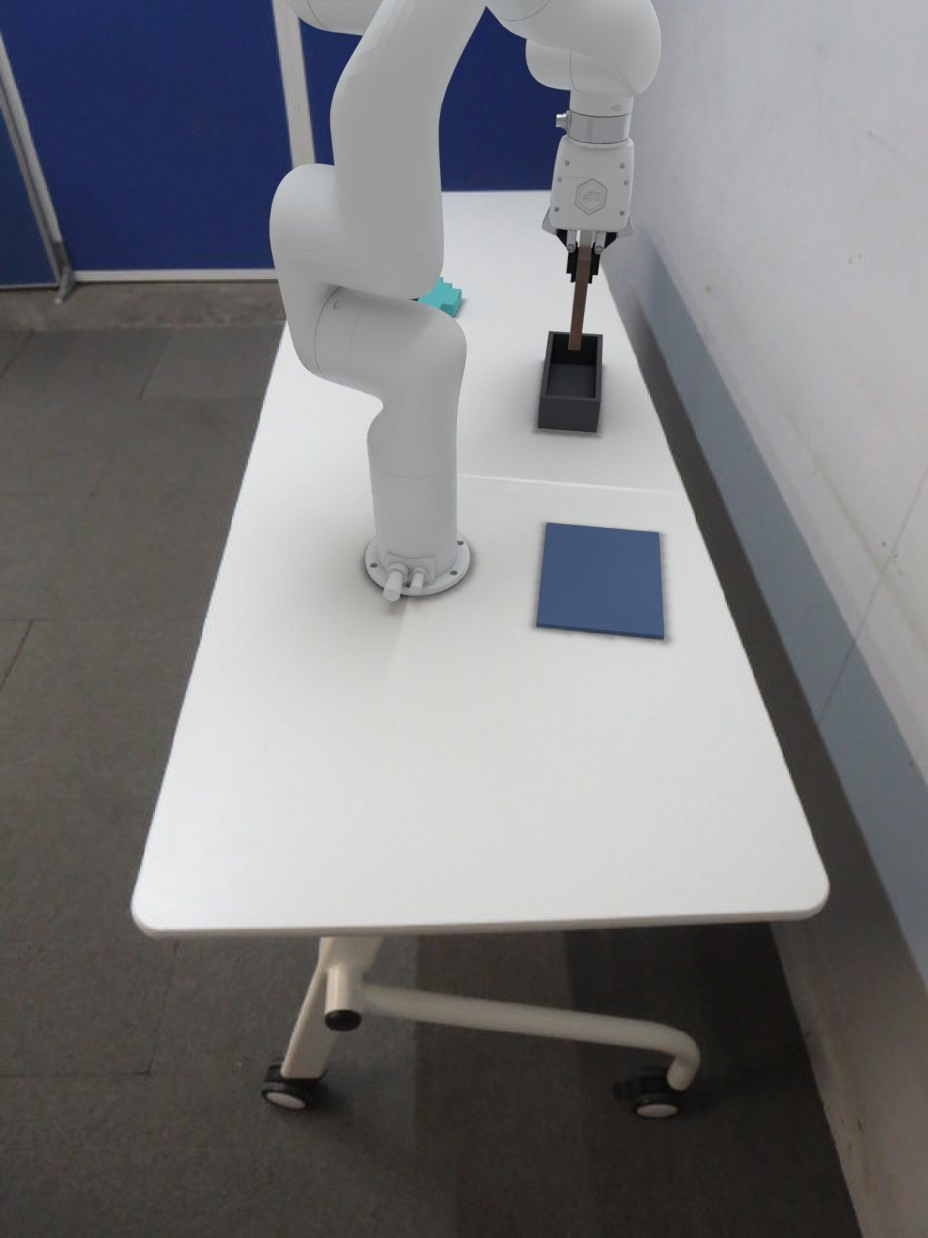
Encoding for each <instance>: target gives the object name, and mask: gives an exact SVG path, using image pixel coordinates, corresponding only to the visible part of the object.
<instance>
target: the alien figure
mask: <svg viewBox="0 0 928 1238" xmlns="http://www.w3.org/2000/svg"><path fill="white" fill-rule="evenodd" d="M462 294H463V291H462V288H453V282H444V277H443V276H440V278H439V281H438V283H437V284H436V286H435V287H434V288H433V289H432V290H431V291H430V292H429V293H428V294H426V295H424V296H422V297H420V298H416V299H410V300H414V301H417V302H421V303H424V304H427V305H430V306H433V307H435V308H437V309H440V310H442V311H444V312H445V313H447V314H448V315H450V316H451V317H452V318H454V317H455V316H456V314H457V312H458V310H459V307H460V305H461V303H462V301H463V300H462V299H463V298H462V296H463V295H462Z"/></svg>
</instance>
